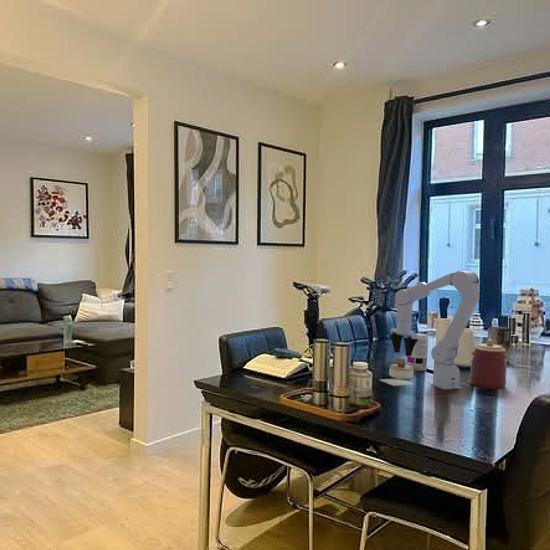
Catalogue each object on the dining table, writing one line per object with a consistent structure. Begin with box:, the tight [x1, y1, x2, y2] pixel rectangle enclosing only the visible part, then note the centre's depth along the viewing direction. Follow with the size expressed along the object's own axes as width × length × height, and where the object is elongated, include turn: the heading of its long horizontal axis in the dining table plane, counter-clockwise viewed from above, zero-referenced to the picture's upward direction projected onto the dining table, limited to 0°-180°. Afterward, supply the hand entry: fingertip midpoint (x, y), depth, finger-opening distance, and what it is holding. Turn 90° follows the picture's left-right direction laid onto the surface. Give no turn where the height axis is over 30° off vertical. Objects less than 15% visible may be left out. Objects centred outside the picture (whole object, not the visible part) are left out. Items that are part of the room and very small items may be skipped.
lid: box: [389, 357, 413, 371], centre depth 209 cm, size 9×9×4 cm
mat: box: [379, 378, 416, 387], centre depth 199 cm, size 10×10×1 cm
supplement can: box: [406, 332, 429, 372], centre depth 225 cm, size 8×8×15 cm
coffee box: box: [486, 325, 512, 363], centre depth 252 cm, size 9×6×16 cm
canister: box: [469, 339, 508, 390], centre depth 202 cm, size 13×13×18 cm
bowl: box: [388, 367, 415, 380], centre depth 209 cm, size 9×9×4 cm
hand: (402, 354), depth 209 cm, fingers open, 7 cm apart
